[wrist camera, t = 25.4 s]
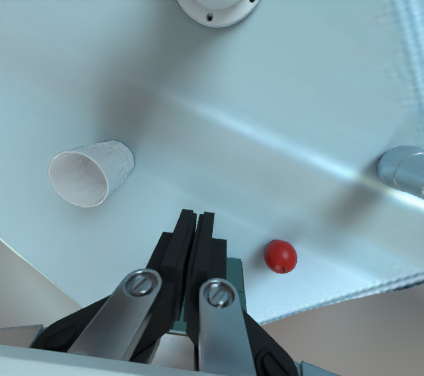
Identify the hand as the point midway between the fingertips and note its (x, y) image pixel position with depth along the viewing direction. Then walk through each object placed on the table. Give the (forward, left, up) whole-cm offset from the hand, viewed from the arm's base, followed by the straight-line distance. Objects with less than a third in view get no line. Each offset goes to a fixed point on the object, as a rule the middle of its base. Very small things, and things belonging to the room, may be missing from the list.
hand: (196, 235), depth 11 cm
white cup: (-11, -14, -25) cm, 31 cm away
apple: (+22, -7, -25) cm, 34 cm away
